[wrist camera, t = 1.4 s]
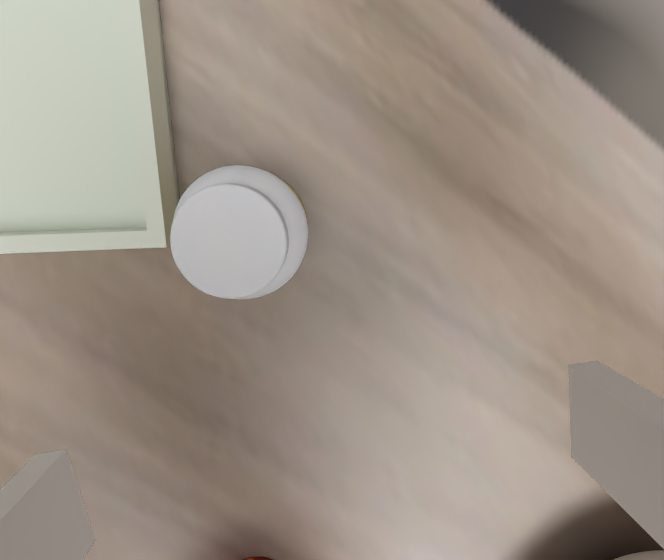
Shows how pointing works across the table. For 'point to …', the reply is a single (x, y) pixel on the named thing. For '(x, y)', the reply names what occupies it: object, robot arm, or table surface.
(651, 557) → the soup bowl
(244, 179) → the pill bottle
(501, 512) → the table surface
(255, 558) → the paper cup
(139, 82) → the tray
